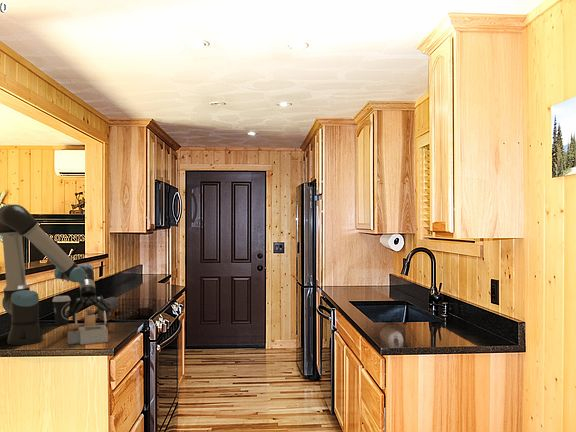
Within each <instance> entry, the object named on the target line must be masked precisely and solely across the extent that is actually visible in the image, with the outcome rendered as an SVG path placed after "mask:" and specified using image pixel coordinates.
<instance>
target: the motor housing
mask: <svg viewBox="0 0 576 432" xmlns="http://www.w3.org/2000/svg"><path fill="white" fill-rule="evenodd" d="M77 329H78V330H70V331H67V344H68V345H74V344H75V345H77V344H80V345H81V346H83V345H92V344H93V345H94V344H103V343H109V328H107V326H106V325H105V324H98V325H96V324H95V326H85V325H84V326H77Z"/></svg>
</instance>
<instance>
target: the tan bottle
mask: <svg viewBox="0 0 576 432" xmlns="http://www.w3.org/2000/svg"><path fill="white" fill-rule="evenodd" d="M86 313H87V314H84V327H85V326H96V314H94V313H93V309H88V310H87V311H86Z"/></svg>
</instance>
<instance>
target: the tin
mask: <svg viewBox="0 0 576 432" xmlns="http://www.w3.org/2000/svg"><path fill="white" fill-rule="evenodd" d="M110 307H111V312H108V318H106V320H107V321H108V322H110V321H113V320H114V318H115V317H116V314H115V312H116V311H115V310H114V308H113V306H110ZM96 309H97V310H96V316H97V319H99V320H101V321H104V315H103V313H104V312H103V311H102V310H100V309H98V307H96ZM98 310H99V312H98ZM109 320H110V321H109Z"/></svg>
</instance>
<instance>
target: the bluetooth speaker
mask: <svg viewBox="0 0 576 432" xmlns="http://www.w3.org/2000/svg"><path fill="white" fill-rule="evenodd" d="M104 300H105V301H106V302H107V304H108V305H109V306H113V308H114V310H115V312H116V311H117V310H118V308H119V307H120V300H119V299H118V298H117V297H116V296H110V297H107V298H105V299H104ZM99 303H100V304H101V305H103V304H102V303H101V302H99ZM97 308H98V307H97ZM98 309H99V308H98ZM98 312H99V310H98Z"/></svg>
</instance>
